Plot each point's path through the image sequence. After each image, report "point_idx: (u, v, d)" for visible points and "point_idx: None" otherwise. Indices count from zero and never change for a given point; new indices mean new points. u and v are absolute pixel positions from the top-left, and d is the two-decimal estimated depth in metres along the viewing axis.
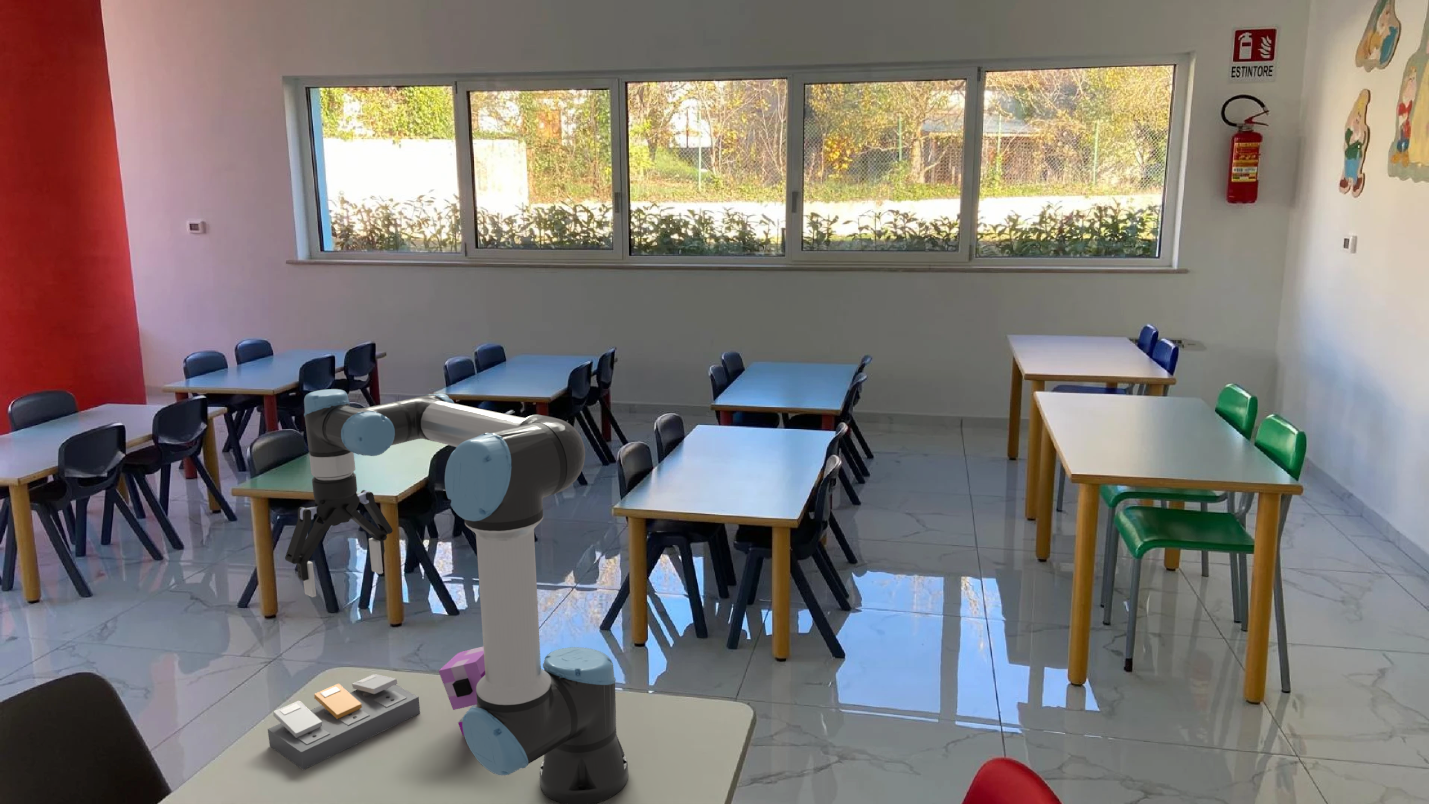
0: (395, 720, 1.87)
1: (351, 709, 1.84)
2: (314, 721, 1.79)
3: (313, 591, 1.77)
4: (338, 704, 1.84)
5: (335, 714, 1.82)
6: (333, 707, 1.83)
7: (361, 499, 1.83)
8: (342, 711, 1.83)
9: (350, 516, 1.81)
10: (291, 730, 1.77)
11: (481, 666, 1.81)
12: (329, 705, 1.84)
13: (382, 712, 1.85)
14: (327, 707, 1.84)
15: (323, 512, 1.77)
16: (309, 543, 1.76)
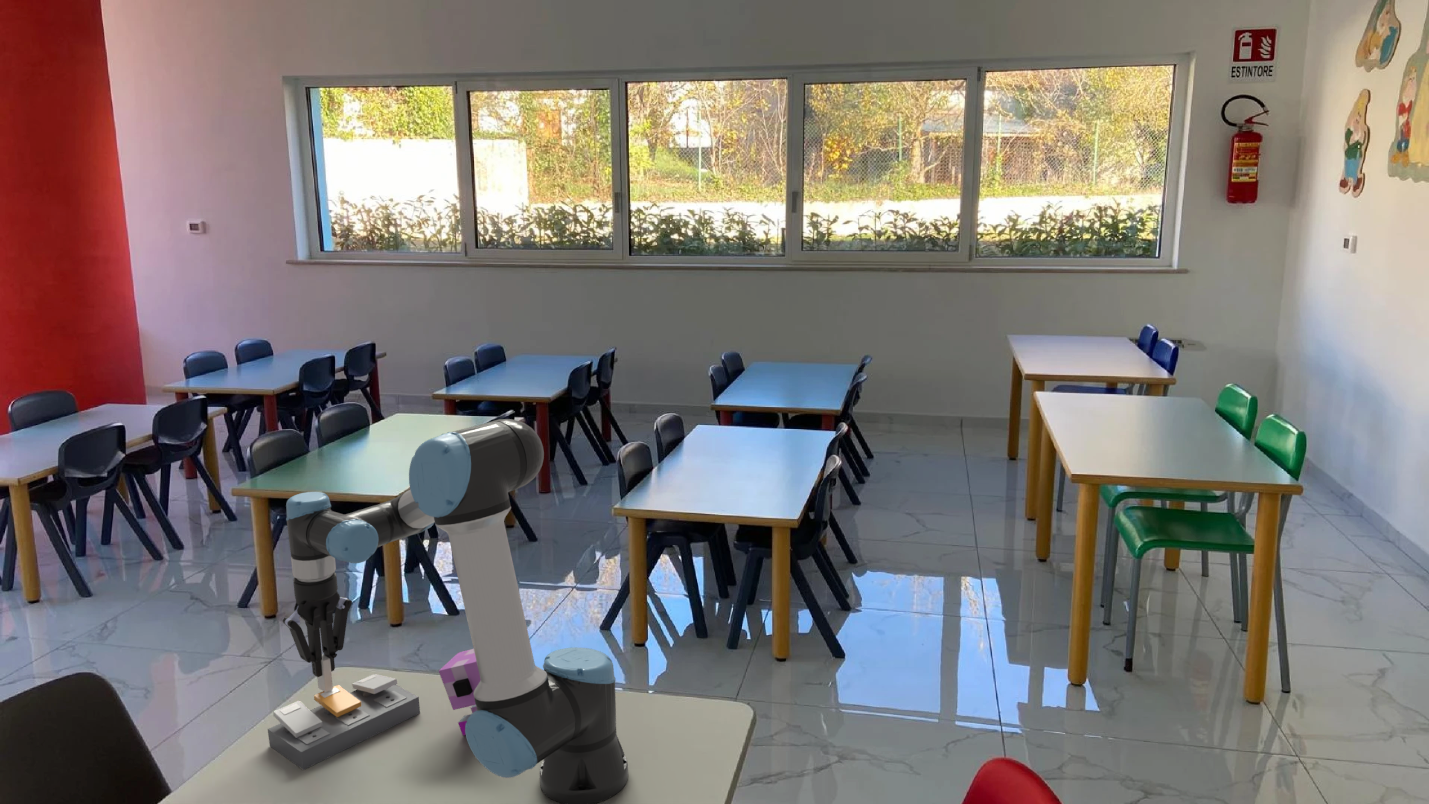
0: (395, 720, 1.87)
1: (351, 707, 1.84)
2: (314, 721, 1.79)
3: (326, 686, 1.87)
4: (338, 703, 1.84)
5: (334, 712, 1.82)
6: (333, 706, 1.83)
7: (339, 602, 1.87)
8: (342, 709, 1.83)
9: (323, 616, 1.84)
10: (291, 730, 1.77)
11: None
12: (329, 704, 1.84)
13: (382, 712, 1.85)
14: (327, 707, 1.84)
15: (305, 612, 1.81)
16: (313, 644, 1.84)
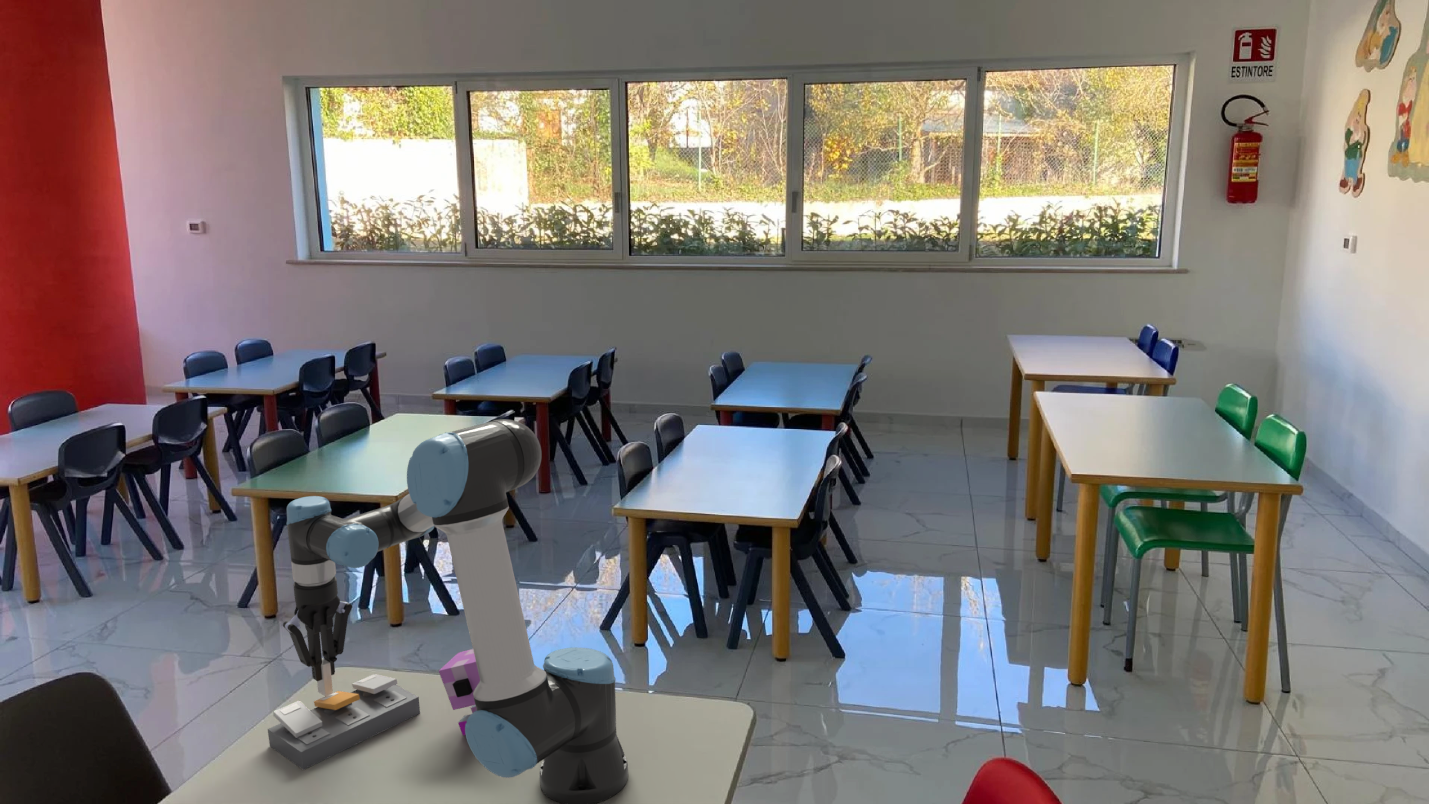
0: (395, 720, 1.87)
1: (349, 700, 1.84)
2: (314, 721, 1.79)
3: (326, 690, 1.87)
4: (336, 700, 1.85)
5: (332, 706, 1.82)
6: (331, 702, 1.84)
7: (339, 606, 1.88)
8: (339, 702, 1.83)
9: (324, 620, 1.85)
10: (291, 730, 1.77)
11: None
12: (327, 702, 1.84)
13: (382, 712, 1.85)
14: (326, 705, 1.84)
15: (305, 616, 1.82)
16: (313, 648, 1.84)
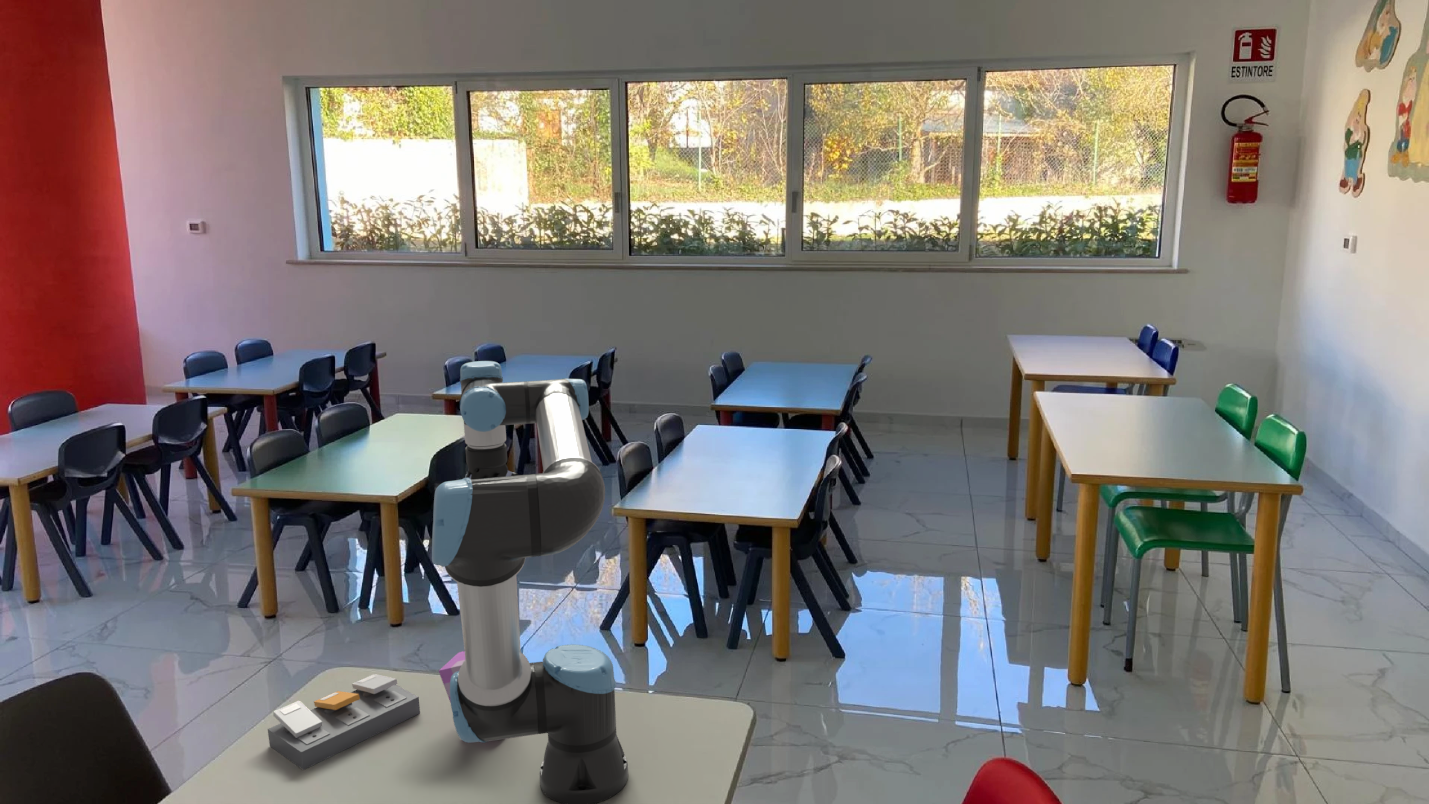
0: (395, 720, 1.87)
1: (348, 699, 1.84)
2: (314, 721, 1.79)
3: None
4: (336, 700, 1.85)
5: (332, 706, 1.82)
6: (331, 702, 1.84)
7: (507, 474, 1.88)
8: (339, 702, 1.83)
9: None
10: (291, 730, 1.77)
11: None
12: (327, 702, 1.84)
13: (382, 712, 1.85)
14: (326, 705, 1.84)
15: None
16: None
